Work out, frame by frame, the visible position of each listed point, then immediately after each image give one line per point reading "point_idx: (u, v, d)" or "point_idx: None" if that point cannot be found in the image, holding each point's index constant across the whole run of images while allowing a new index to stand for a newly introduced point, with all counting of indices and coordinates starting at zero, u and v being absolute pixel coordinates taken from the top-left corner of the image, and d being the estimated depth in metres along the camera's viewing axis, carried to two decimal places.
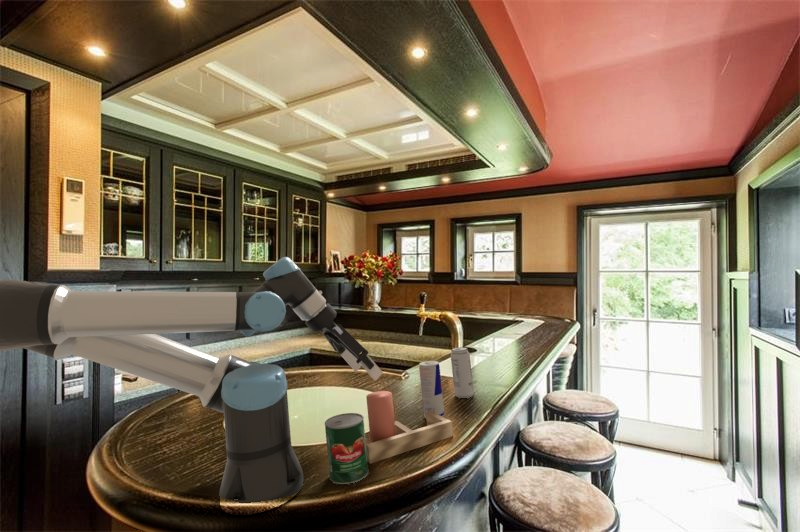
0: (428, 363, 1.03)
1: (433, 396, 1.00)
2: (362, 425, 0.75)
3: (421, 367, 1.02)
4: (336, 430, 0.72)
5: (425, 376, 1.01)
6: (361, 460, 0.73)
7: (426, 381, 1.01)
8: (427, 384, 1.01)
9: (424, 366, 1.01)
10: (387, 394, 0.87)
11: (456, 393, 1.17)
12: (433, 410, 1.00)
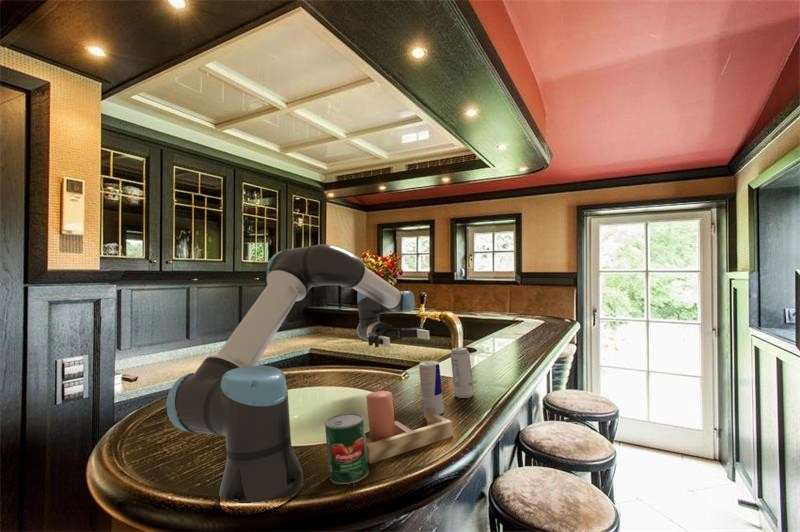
0: (428, 363, 1.03)
1: (433, 396, 1.00)
2: (362, 425, 0.75)
3: (421, 367, 1.02)
4: (336, 430, 0.72)
5: (425, 376, 1.01)
6: (361, 460, 0.73)
7: (426, 381, 1.01)
8: (427, 384, 1.01)
9: (424, 366, 1.01)
10: (387, 394, 0.87)
11: (456, 393, 1.17)
12: (433, 410, 1.00)
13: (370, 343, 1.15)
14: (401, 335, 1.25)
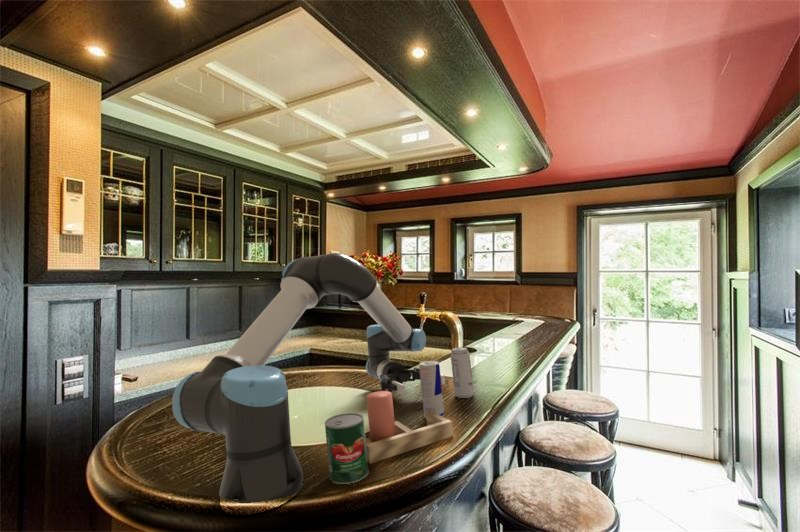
0: (428, 363, 1.03)
1: (433, 396, 1.00)
2: (362, 425, 0.75)
3: (421, 367, 1.02)
4: (336, 430, 0.72)
5: (425, 376, 1.01)
6: (361, 460, 0.73)
7: (426, 381, 1.01)
8: (427, 384, 1.01)
9: (424, 366, 1.01)
10: (387, 394, 0.87)
11: (456, 393, 1.17)
12: (433, 410, 1.00)
13: (383, 389, 1.10)
14: (414, 377, 1.19)
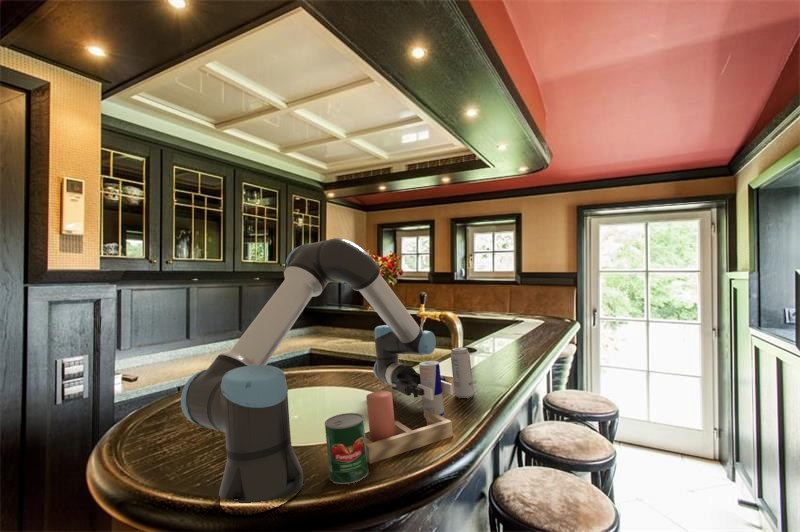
0: (428, 363, 1.03)
1: (433, 396, 1.00)
2: (362, 425, 0.75)
3: (421, 367, 1.02)
4: (336, 430, 0.72)
5: (425, 376, 1.01)
6: (361, 460, 0.73)
7: (426, 381, 1.01)
8: (427, 384, 1.01)
9: (424, 366, 1.01)
10: (387, 394, 0.87)
11: (456, 393, 1.17)
12: (433, 410, 1.00)
13: (409, 393, 1.02)
14: None
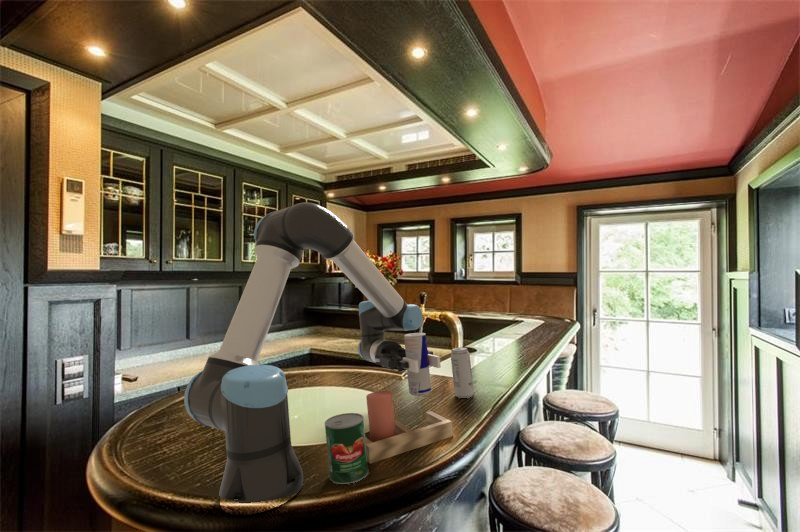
0: (414, 334, 0.94)
1: (419, 369, 0.92)
2: (362, 425, 0.75)
3: (406, 338, 0.93)
4: (336, 430, 0.72)
5: (410, 347, 0.92)
6: (361, 460, 0.73)
7: (411, 354, 0.92)
8: (412, 356, 0.92)
9: (409, 337, 0.93)
10: (387, 394, 0.87)
11: (456, 393, 1.17)
12: (419, 385, 0.91)
13: (393, 366, 0.94)
14: None
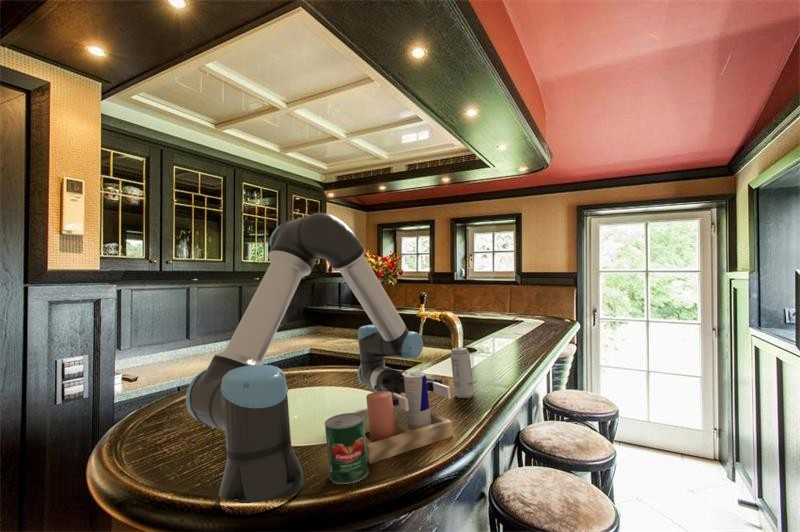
0: (414, 374, 0.92)
1: (419, 412, 0.89)
2: (362, 425, 0.75)
3: (406, 379, 0.91)
4: (336, 430, 0.72)
5: (409, 389, 0.90)
6: (361, 460, 0.73)
7: (411, 395, 0.90)
8: (412, 398, 0.89)
9: (409, 378, 0.90)
10: (387, 394, 0.87)
11: (456, 393, 1.17)
12: None
13: None
14: None
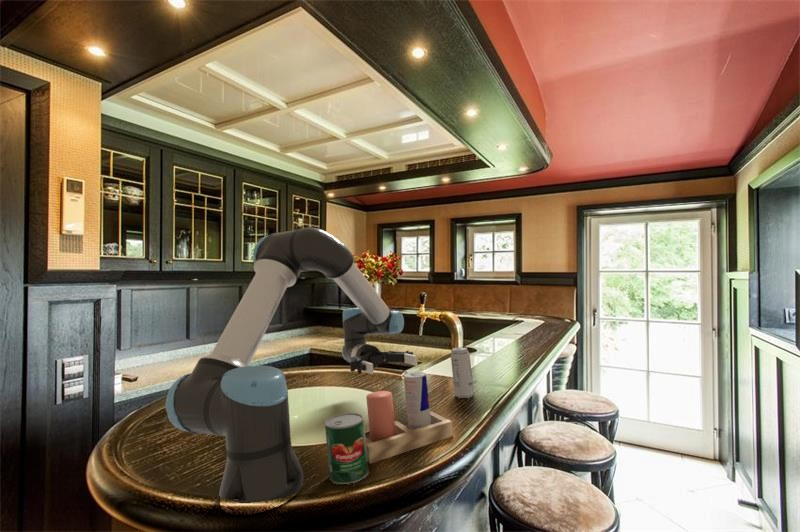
0: (414, 374, 0.92)
1: (419, 412, 0.89)
2: (362, 425, 0.75)
3: (406, 379, 0.91)
4: (336, 430, 0.72)
5: (409, 389, 0.90)
6: (361, 460, 0.73)
7: (411, 395, 0.90)
8: (412, 398, 0.89)
9: (409, 378, 0.90)
10: (387, 394, 0.87)
11: (456, 393, 1.17)
12: None
13: (352, 369, 1.05)
14: (387, 359, 1.15)
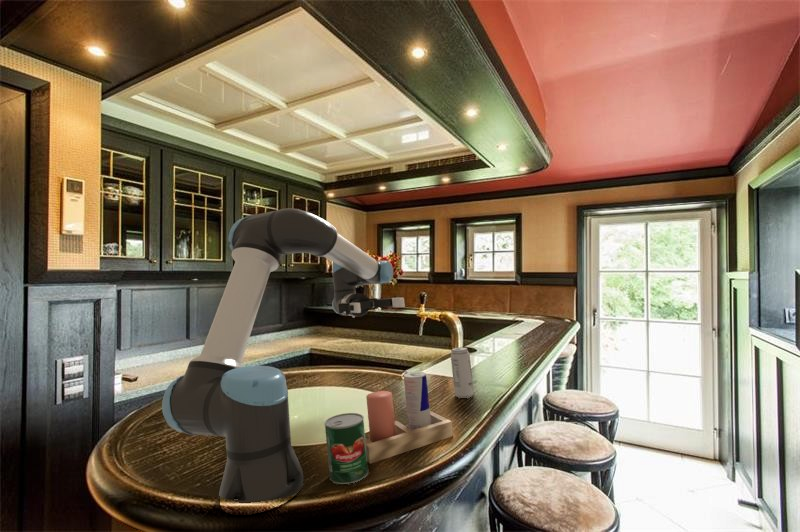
0: (414, 374, 0.92)
1: (419, 412, 0.89)
2: (362, 425, 0.75)
3: (406, 379, 0.91)
4: (336, 430, 0.72)
5: (409, 389, 0.90)
6: (361, 460, 0.73)
7: (411, 395, 0.90)
8: (412, 398, 0.89)
9: (409, 378, 0.90)
10: (387, 394, 0.87)
11: (456, 393, 1.17)
12: None
13: (340, 310, 1.07)
14: (376, 305, 1.16)
